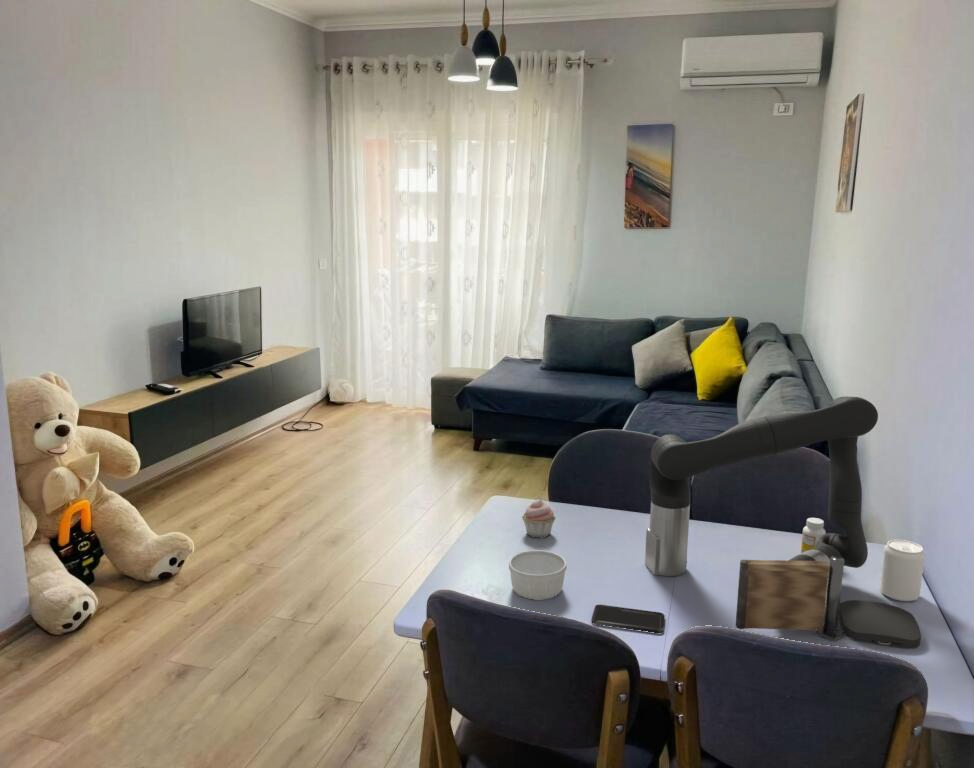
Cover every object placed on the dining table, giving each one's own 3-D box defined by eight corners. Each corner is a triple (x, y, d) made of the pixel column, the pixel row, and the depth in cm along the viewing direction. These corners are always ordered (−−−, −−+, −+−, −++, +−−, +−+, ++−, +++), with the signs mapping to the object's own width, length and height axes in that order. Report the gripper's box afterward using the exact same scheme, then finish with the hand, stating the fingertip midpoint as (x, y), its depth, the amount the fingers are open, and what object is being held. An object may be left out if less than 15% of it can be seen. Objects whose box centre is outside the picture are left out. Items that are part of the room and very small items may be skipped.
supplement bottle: (819, 552, 201) (823, 516, 199) (826, 561, 195) (830, 525, 193) (797, 551, 201) (801, 516, 199) (804, 560, 196) (807, 524, 194)
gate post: (849, 631, 163) (857, 556, 159) (834, 642, 159) (842, 565, 155) (755, 593, 179) (760, 523, 176) (739, 602, 175) (744, 531, 172)
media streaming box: (835, 607, 173) (836, 595, 173) (908, 617, 169) (909, 604, 169) (844, 641, 160) (845, 628, 159) (924, 653, 156) (925, 639, 155)
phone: (662, 631, 162) (590, 621, 166) (662, 636, 162) (590, 625, 166) (664, 612, 169) (595, 603, 173) (664, 617, 169) (595, 608, 173)
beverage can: (915, 589, 181) (921, 541, 178) (922, 605, 174) (928, 555, 171) (877, 584, 184) (882, 536, 181) (881, 600, 176) (887, 550, 173)
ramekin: (526, 608, 173) (527, 579, 171) (498, 584, 184) (498, 556, 182) (576, 595, 179) (577, 567, 177) (546, 572, 190) (546, 545, 188)
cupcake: (557, 540, 208) (558, 505, 206) (522, 540, 208) (522, 505, 206) (554, 526, 217) (555, 492, 215) (521, 526, 217) (521, 492, 215)
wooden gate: (819, 625, 162) (825, 561, 159) (823, 630, 160) (829, 565, 157) (734, 623, 163) (739, 559, 160) (736, 628, 161) (741, 563, 158)
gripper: (780, 545, 177) (738, 567, 166) (838, 565, 167) (796, 590, 156) (778, 575, 178) (735, 600, 167) (834, 597, 169) (793, 624, 158)
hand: (765, 595), depth 162 cm, fingers closed
